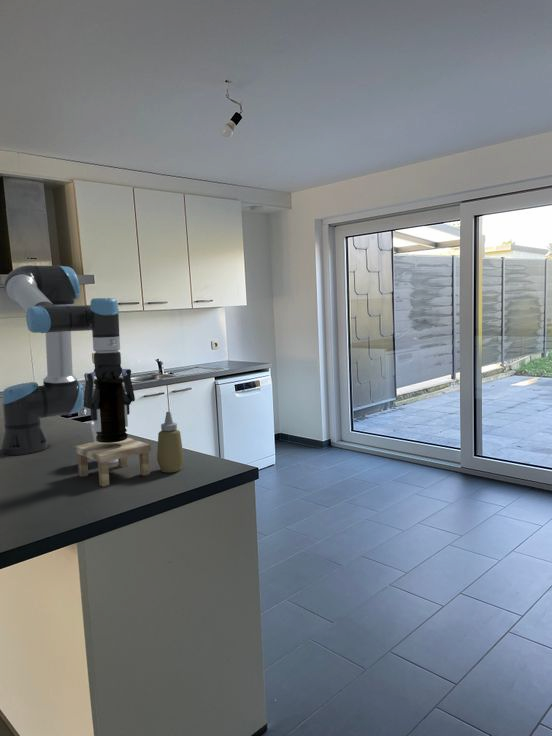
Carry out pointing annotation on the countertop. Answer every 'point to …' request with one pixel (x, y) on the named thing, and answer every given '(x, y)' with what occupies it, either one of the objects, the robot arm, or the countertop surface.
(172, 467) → the squeeze bottle
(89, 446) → the beige flat-topped legged fixture
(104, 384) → the container
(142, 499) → the countertop surface
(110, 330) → the robot arm
